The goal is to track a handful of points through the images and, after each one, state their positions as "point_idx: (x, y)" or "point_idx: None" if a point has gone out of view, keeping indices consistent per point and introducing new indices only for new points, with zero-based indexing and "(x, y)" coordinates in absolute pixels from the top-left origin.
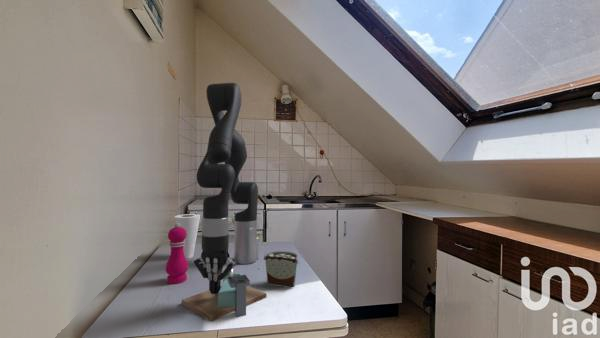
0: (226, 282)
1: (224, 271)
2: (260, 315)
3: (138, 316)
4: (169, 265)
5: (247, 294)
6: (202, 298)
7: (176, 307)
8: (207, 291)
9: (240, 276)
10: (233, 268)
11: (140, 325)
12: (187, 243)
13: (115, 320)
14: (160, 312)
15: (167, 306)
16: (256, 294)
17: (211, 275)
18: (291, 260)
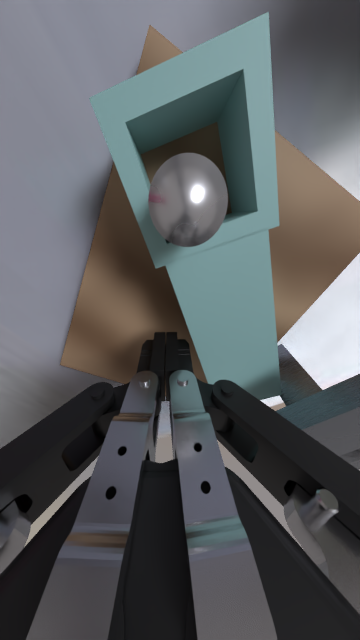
0: (200, 307)
1: (257, 470)
2: (332, 353)
3: (33, 421)
4: None
5: (289, 261)
6: (122, 341)
7: (74, 373)
8: (90, 280)
9: (350, 421)
10: (225, 185)
11: None
12: None
13: (7, 439)
14: (61, 399)
15: (43, 374)
16: (333, 251)
17: (155, 435)
18: None
